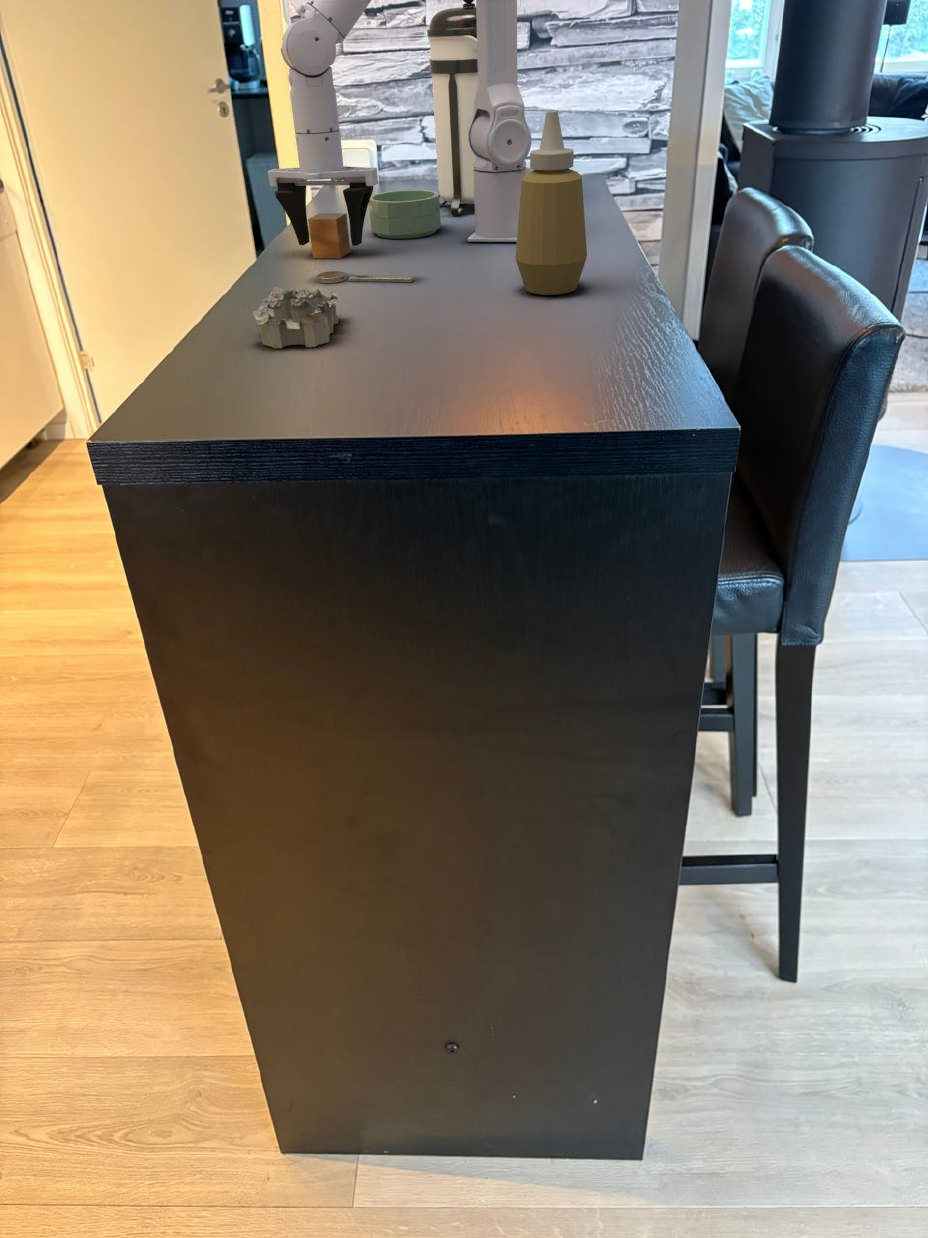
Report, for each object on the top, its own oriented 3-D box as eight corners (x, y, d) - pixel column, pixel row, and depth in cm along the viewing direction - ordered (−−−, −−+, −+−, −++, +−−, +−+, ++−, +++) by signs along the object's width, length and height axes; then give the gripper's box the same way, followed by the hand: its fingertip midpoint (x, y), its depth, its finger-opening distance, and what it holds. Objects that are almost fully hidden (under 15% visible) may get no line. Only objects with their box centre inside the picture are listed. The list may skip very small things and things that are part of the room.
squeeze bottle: (593, 282, 108) (598, 106, 99) (577, 300, 102) (581, 115, 92) (526, 279, 111) (525, 108, 101) (507, 297, 105) (503, 116, 95)
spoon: (417, 277, 114) (416, 272, 114) (408, 284, 112) (408, 279, 111) (323, 275, 117) (323, 270, 117) (312, 282, 114) (312, 277, 114)
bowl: (448, 225, 141) (446, 189, 138) (430, 239, 132) (427, 201, 130) (384, 225, 143) (381, 189, 140) (362, 239, 135) (358, 202, 132)
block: (350, 251, 128) (346, 212, 125) (340, 258, 125) (336, 218, 122) (323, 251, 129) (319, 212, 126) (312, 258, 126) (307, 218, 123)
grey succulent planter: (327, 349, 92) (321, 306, 90) (252, 350, 93) (245, 308, 90) (346, 317, 101) (341, 278, 98) (278, 319, 101) (272, 280, 99)
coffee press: (541, 200, 154) (541, -19, 137) (491, 218, 143) (485, -18, 126) (454, 195, 162) (444, -13, 146) (400, 212, 151) (383, -11, 135)
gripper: (251, 136, 117) (269, 249, 125) (360, 133, 114) (371, 250, 121) (274, 129, 123) (290, 238, 130) (378, 127, 119) (388, 239, 127)
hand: (330, 243), depth 126 cm, fingers open, 7 cm apart
